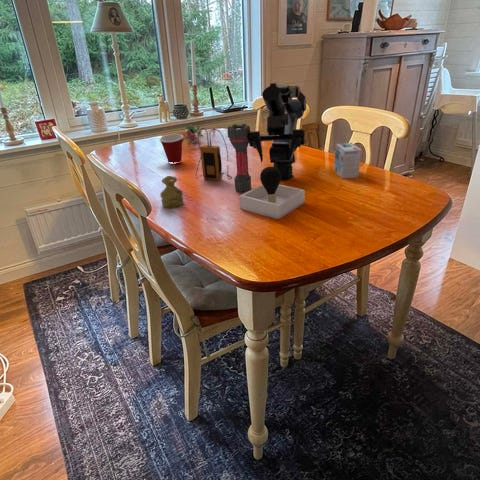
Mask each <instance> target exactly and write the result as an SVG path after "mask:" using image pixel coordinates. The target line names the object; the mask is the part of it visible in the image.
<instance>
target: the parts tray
mask: <svg viewBox="0 0 480 480" xmlns="http://www.w3.org/2000/svg"><path fill="white" fill-rule="evenodd" d="M275 193H276V201H275V203H271V202H268V196H267V191H266V189H265V188H264V186H263V185H262V184H260V185H258V186H256V187H254V188H252V189H249V190H248V191H245V192H244V193H242V194H241V195H239V208H240V210H244V211H247V212H249V213H250V212H251V213H255V214H258V215H262V216H265V217H269V218H272V219H276V220H281V219H282V218H283V217H285V216H287V215H288V214H289V213H291V212H293V211H294V210H295V209H297V208H298V207H300V206H302V205H303V204H305V197H306V196H305V195H306V194H305V193H306V191H305V189H302V188H297V187H292V186H287V185H283V184H279V186H278V188H277V190H276V192H275Z"/></svg>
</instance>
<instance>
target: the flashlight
mask: <svg viewBox="0 0 480 480" xmlns="http://www.w3.org/2000/svg"><path fill="white" fill-rule="evenodd" d="M249 132H251V127H250V125H247V124H246V123H242V124H240V125H238V124H236V123H235V124H232V125H231V126H227V138H229V142H230V144H231V145H232V147H233V148H234V151H235V160H236V161H235V162H236V163H235V164H236V176H234V178H233V179H234V188H235V191H237V192H239V193H243V192H248V191H250V189H251V188H252V177H251V176H250V174H249V160H248V159H249V157H248V147H249V142H248V133H249Z"/></svg>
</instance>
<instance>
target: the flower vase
mask: <svg viewBox="0 0 480 480" xmlns="http://www.w3.org/2000/svg"><path fill="white" fill-rule="evenodd" d="M199 131H200V125H198V126H197V128H195V127H194V125H190V126H189V125H186V129H185V131H184V132H185V134H182V135H183V139H182V143H184V142H185V140H187V141H189V142H188V144H187V146H188V145H190V146H192V144H193V145H194V144H196V142H198V140H200V139H199V138H200V137H201V138H202V137H203V138H204V135H203V134H202V132H203V131H202V130H201V131H200V133H199ZM198 134H199V137H198ZM187 135H188V136H187Z"/></svg>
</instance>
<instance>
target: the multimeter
mask: <svg viewBox="0 0 480 480" xmlns="http://www.w3.org/2000/svg"><path fill="white" fill-rule="evenodd" d="M202 130H205V132H206V137H207V138H206V139H207V144H204V145H202V146H200V141H199V140H200V139H199V140H198V141H197V144H198V147H199V152H200V159H199V160H198V164H197V168H196V171H195V175H197V173H198V170H199V165H200V162H201V168H202V170H201V171H202V175H203V179H204V180H212V181H220V180H221V179H222V178H223V175H224V174H226V176H227V178H228V180H231V179H233V177H232V176H231V175H230V174H229V166H227V171H226V172H222V169H223V166H222V164H223V163H222V156H221V147H220V146H219V145H212V139H211V137H209V136H211V132H212V131H217V132H219V133H220V135H221V137H222V139H223V141H224V145H225V148H226V154H227V155H226V157H227V160H229V152H228V151H229V150H228V147H227V143H226V140H225V138H224V135H223V134H222V132H221V131H220V130H219V129H217V128H211V130H210V131H209V134H208V131H207V130H206V128H204V127H202V128H199V130H198V132H199V133H200V131H202ZM200 134H201V133H200ZM197 137H198V138H200V136H199V134H197Z"/></svg>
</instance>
